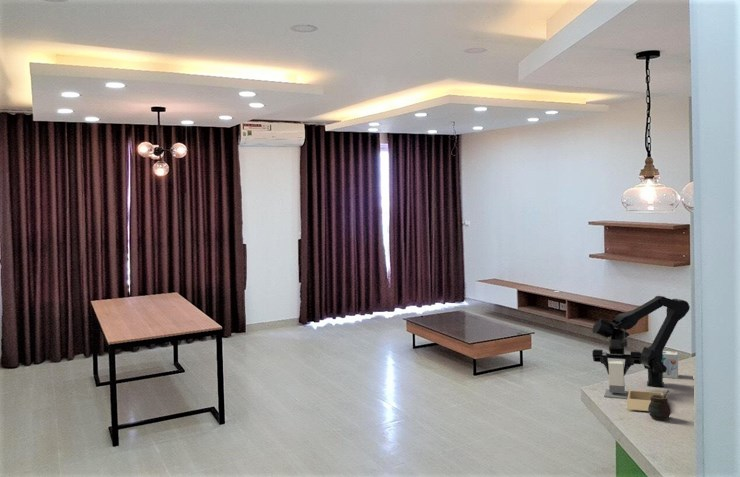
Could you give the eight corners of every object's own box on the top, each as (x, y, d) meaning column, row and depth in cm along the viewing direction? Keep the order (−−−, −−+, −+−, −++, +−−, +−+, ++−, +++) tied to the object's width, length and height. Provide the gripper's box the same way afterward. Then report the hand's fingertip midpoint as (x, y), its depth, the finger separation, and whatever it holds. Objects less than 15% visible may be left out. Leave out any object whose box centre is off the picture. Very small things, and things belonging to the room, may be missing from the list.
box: (610, 389, 253) (609, 360, 252) (624, 390, 250) (623, 361, 250) (609, 392, 248) (608, 363, 248) (624, 393, 246) (623, 363, 246)
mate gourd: (643, 417, 221) (642, 389, 221) (659, 414, 224) (658, 387, 223) (659, 423, 214) (658, 394, 214) (675, 419, 217) (675, 391, 217)
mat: (606, 390, 256) (606, 389, 256) (629, 392, 252) (629, 391, 252) (604, 397, 247) (604, 396, 247) (628, 399, 243) (628, 398, 243)
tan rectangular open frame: (629, 396, 246) (629, 387, 246) (663, 399, 241) (663, 390, 240) (627, 410, 229) (626, 401, 229) (663, 414, 223) (662, 404, 223)
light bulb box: (651, 376, 274) (651, 352, 274) (652, 373, 280) (651, 349, 280) (678, 378, 269) (677, 354, 269) (678, 375, 275) (677, 351, 275)
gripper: (592, 330, 256) (589, 362, 247) (640, 332, 248) (640, 365, 238) (594, 345, 264) (592, 376, 254) (641, 347, 255) (641, 380, 246)
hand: (616, 374), depth 248 cm, fingers closed on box, 5 cm apart
